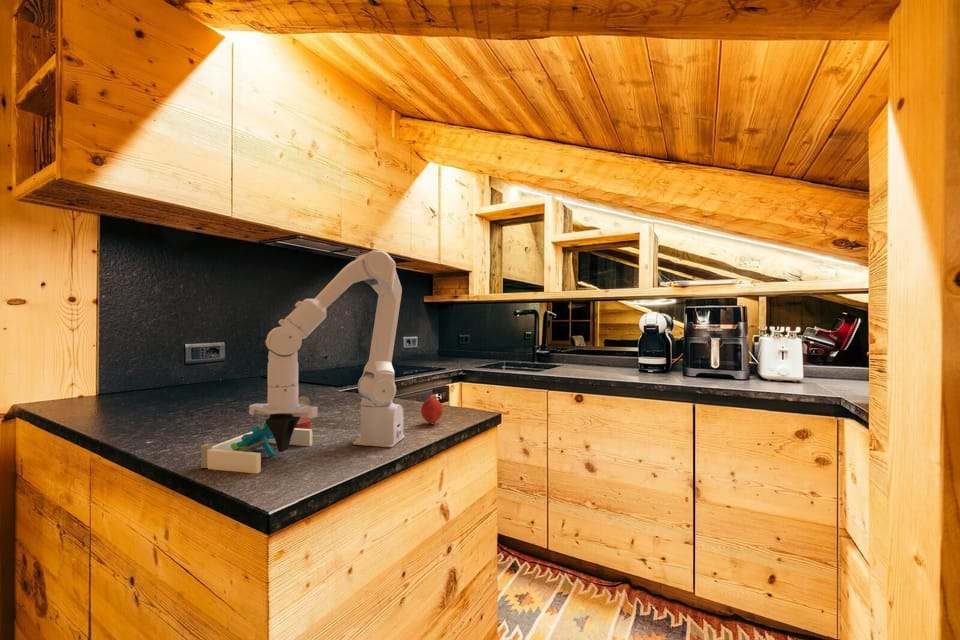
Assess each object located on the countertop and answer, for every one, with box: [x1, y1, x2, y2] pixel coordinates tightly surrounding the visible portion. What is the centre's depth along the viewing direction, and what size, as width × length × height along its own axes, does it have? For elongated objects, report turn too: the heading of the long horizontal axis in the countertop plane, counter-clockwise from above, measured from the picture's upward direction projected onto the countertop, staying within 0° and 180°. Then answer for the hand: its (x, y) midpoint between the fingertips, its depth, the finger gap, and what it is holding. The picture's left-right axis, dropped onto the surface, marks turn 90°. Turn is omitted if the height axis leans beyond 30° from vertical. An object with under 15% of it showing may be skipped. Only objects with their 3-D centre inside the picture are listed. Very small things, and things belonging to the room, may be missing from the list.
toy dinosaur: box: [231, 421, 276, 458], centre depth 84 cm, size 11×6×10 cm
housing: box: [200, 422, 313, 475], centre depth 84 cm, size 12×17×4 cm
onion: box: [420, 394, 444, 424], centre depth 109 cm, size 6×6×8 cm
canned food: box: [295, 395, 312, 429], centre depth 102 cm, size 11×10×10 cm
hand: (283, 450), depth 83 cm, fingers closed
